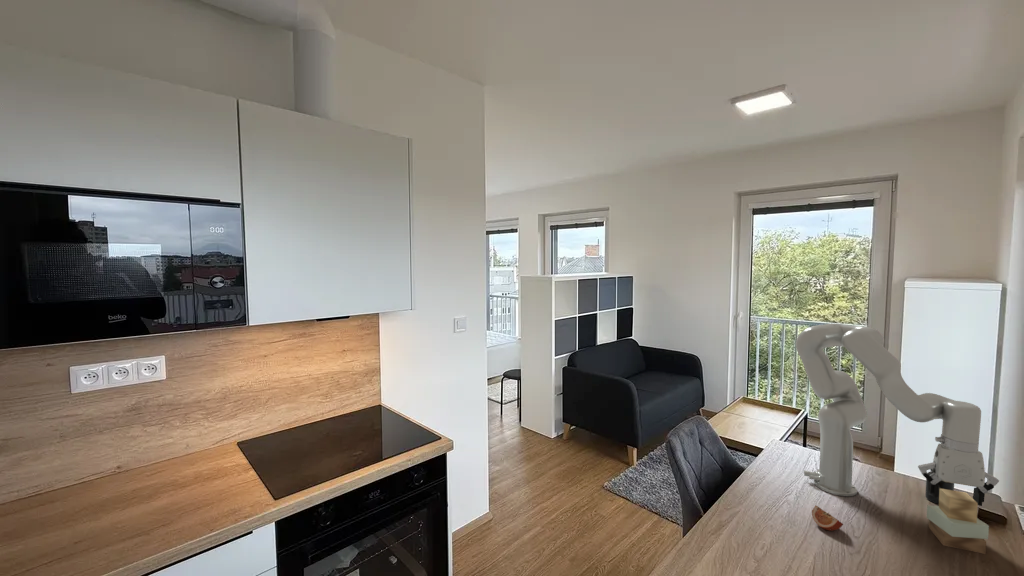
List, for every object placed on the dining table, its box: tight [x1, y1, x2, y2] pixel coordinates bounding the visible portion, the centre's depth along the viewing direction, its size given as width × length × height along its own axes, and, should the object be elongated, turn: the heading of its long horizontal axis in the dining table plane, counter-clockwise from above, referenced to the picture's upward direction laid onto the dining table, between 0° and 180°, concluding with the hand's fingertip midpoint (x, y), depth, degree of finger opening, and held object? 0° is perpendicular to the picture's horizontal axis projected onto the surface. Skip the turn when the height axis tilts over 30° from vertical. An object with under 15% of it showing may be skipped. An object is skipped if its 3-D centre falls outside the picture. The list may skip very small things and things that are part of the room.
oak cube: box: [938, 488, 979, 523], centre depth 125 cm, size 6×6×6 cm
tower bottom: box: [928, 519, 987, 555], centre depth 125 cm, size 9×9×4 cm
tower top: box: [926, 504, 990, 540], centre depth 125 cm, size 9×9×4 cm
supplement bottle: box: [924, 469, 955, 505], centre depth 145 cm, size 7×7×12 cm
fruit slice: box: [811, 505, 844, 532], centre depth 132 cm, size 8×7×5 cm
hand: (955, 499), depth 126 cm, fingers open, 9 cm apart
